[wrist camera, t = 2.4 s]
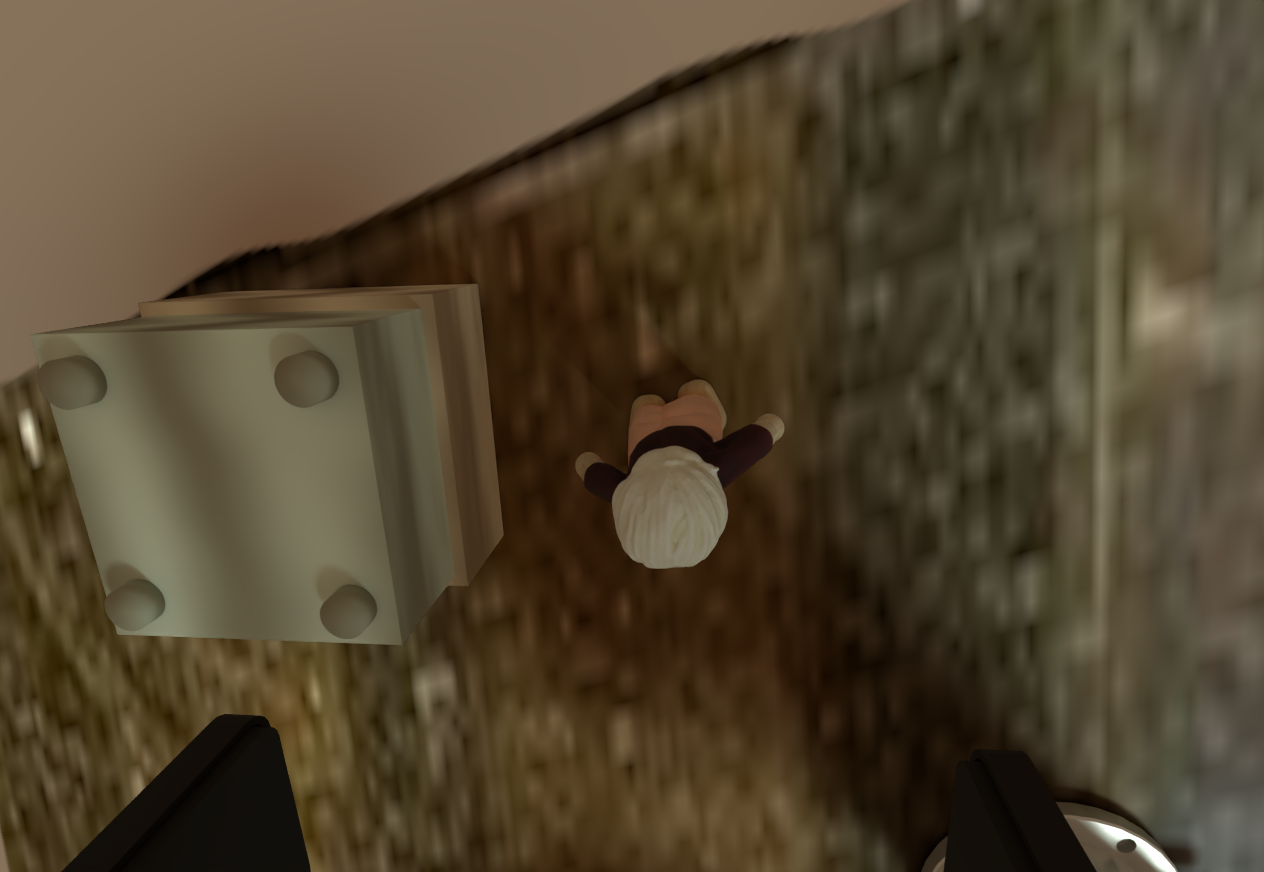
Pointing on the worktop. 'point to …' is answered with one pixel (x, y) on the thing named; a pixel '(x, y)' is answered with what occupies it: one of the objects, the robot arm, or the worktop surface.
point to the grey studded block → (281, 459)
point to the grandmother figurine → (677, 475)
